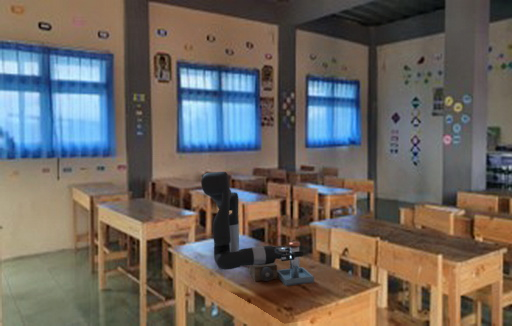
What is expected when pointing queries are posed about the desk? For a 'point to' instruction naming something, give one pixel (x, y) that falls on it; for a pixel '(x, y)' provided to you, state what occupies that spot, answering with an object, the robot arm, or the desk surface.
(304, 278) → the tray
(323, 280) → the desk surface
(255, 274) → the block
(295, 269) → the pin
